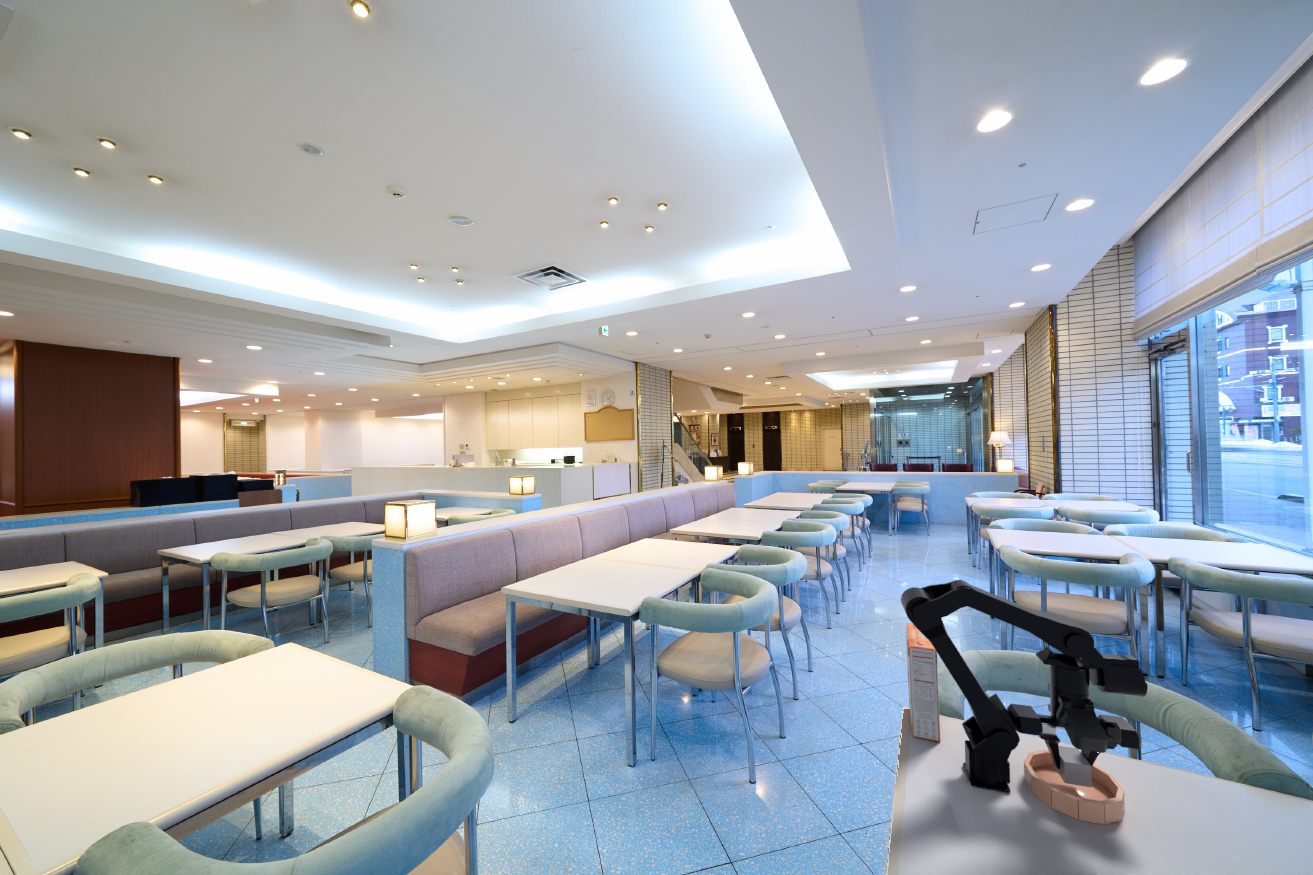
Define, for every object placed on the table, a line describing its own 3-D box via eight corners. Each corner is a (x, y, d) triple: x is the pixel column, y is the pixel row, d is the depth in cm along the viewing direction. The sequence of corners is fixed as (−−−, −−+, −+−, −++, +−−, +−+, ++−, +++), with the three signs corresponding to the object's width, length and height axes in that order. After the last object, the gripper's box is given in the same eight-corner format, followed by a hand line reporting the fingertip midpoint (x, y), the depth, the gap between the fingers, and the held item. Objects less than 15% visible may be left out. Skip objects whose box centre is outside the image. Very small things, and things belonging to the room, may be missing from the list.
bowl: (1043, 813, 88) (1043, 794, 88) (1014, 761, 101) (1013, 745, 101) (1142, 830, 83) (1142, 810, 83) (1098, 774, 97) (1097, 757, 96)
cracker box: (907, 704, 123) (905, 621, 122) (935, 709, 120) (932, 624, 120) (910, 737, 110) (907, 645, 110) (941, 743, 108) (938, 649, 107)
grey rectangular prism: (1064, 782, 90) (1064, 761, 90) (1052, 764, 95) (1052, 744, 95) (1091, 787, 89) (1091, 765, 89) (1077, 768, 94) (1077, 748, 94)
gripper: (1027, 703, 87) (1029, 790, 87) (1161, 719, 81) (1163, 812, 81) (1005, 673, 98) (1007, 750, 98) (1122, 685, 92) (1123, 767, 92)
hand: (1071, 769), depth 92 cm, fingers closed on grey rectangular prism, 4 cm apart
